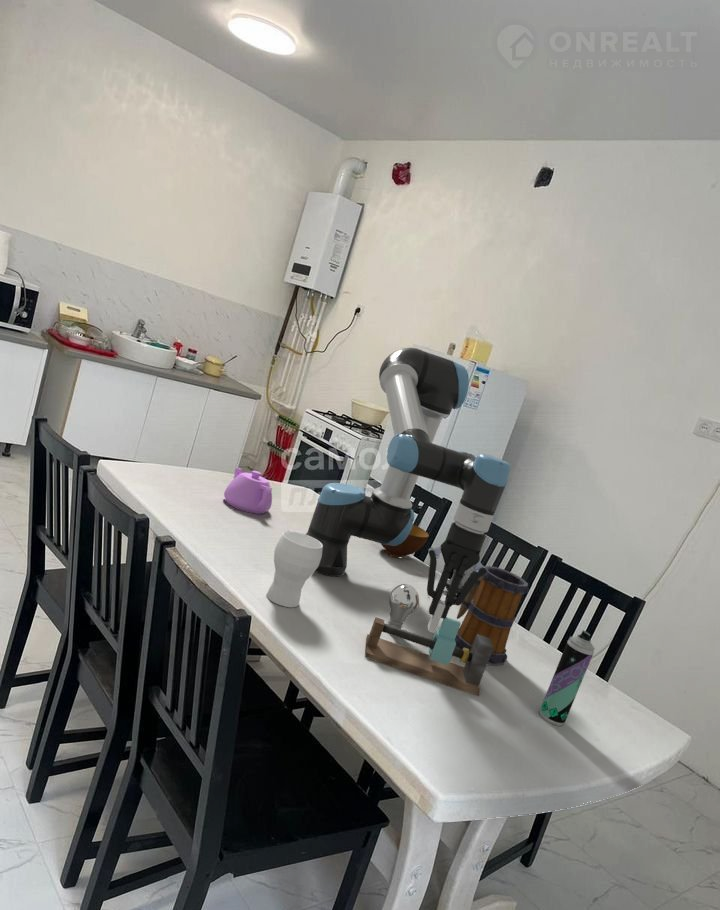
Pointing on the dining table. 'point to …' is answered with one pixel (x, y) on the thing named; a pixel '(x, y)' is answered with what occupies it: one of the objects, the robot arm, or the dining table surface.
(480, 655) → the wooden axle stand
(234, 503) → the teapot
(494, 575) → the mug
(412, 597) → the light bulb
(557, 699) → the spray can
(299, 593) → the cup
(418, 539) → the bowl
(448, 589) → the salt shaker
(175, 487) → the dining table surface
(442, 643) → the sleeve
